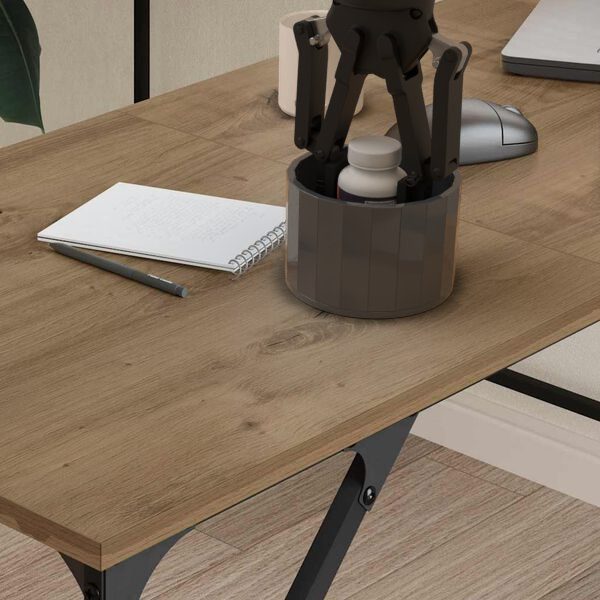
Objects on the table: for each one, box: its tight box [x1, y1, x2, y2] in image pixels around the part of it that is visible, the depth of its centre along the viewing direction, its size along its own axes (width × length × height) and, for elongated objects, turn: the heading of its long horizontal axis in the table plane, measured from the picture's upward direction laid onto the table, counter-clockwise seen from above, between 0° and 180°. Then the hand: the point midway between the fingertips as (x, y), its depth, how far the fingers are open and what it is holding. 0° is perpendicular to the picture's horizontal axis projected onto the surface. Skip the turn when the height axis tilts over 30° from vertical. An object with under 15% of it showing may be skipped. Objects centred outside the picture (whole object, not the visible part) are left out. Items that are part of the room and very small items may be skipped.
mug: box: [277, 9, 365, 118], centre depth 139 cm, size 12×9×9 cm
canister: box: [284, 143, 464, 320], centre depth 103 cm, size 13×13×9 cm
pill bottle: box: [337, 134, 407, 205], centre depth 102 cm, size 5×5×10 cm
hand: (370, 246), depth 104 cm, fingers closed on pill bottle, 5 cm apart
